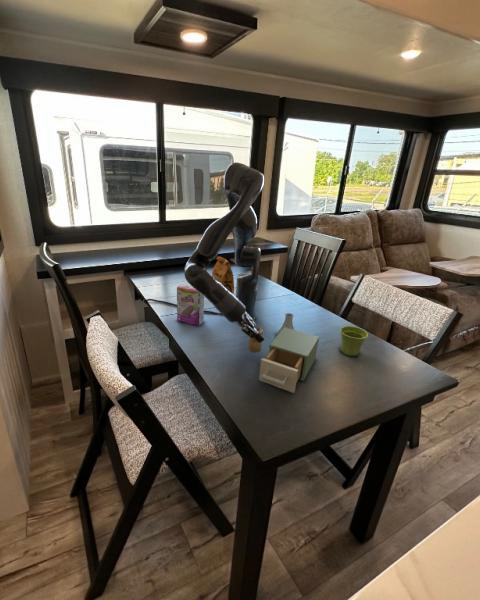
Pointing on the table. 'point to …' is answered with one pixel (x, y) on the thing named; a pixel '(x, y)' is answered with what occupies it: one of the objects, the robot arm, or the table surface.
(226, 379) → the table surface
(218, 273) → the coffee package
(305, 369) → the cabinet
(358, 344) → the plant pot
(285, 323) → the flask
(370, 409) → the table surface
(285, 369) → the drawer
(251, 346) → the pepper mill
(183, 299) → the candy bar box
